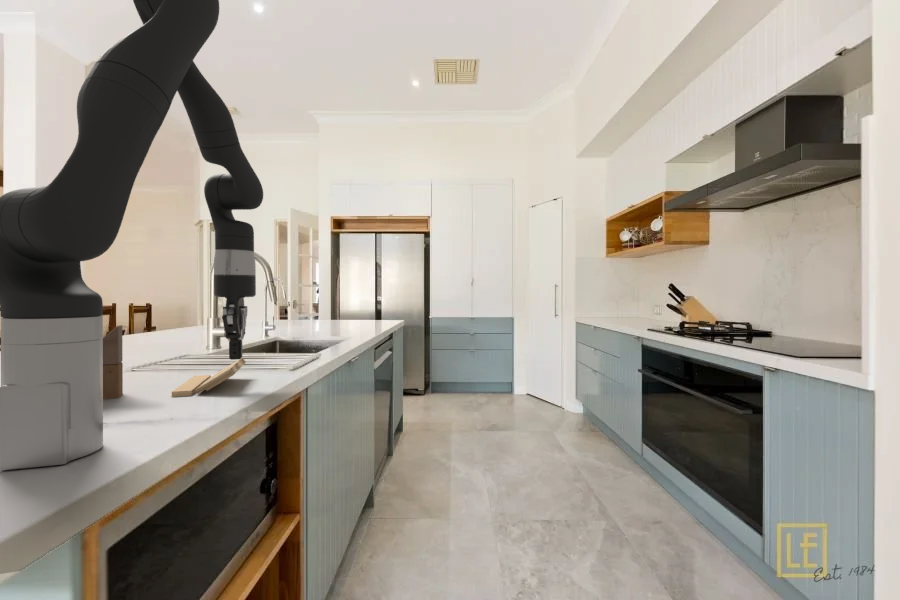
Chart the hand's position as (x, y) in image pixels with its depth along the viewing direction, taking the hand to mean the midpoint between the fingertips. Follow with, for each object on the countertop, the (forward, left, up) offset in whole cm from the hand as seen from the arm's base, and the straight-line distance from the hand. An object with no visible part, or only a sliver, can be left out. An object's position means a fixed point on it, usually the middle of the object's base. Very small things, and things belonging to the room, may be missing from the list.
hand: (235, 358), depth 85 cm
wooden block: (-1, +25, -7) cm, 26 cm away
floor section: (+4, +4, -7) cm, 9 cm away
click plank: (+4, +3, -4) cm, 7 cm away
